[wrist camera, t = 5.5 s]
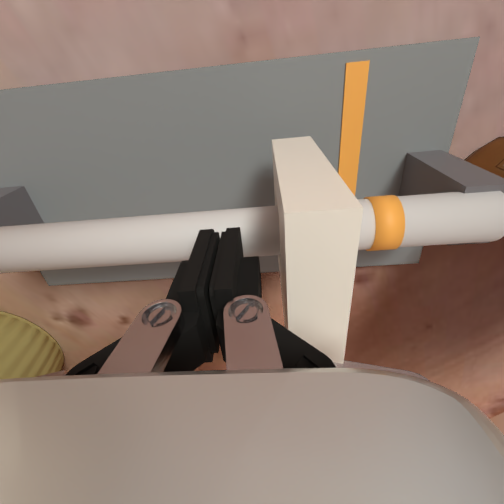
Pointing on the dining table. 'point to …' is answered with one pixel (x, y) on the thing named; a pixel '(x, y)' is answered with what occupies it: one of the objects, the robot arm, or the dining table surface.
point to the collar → (315, 244)
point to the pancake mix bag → (490, 157)
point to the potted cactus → (26, 349)
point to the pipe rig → (236, 161)
